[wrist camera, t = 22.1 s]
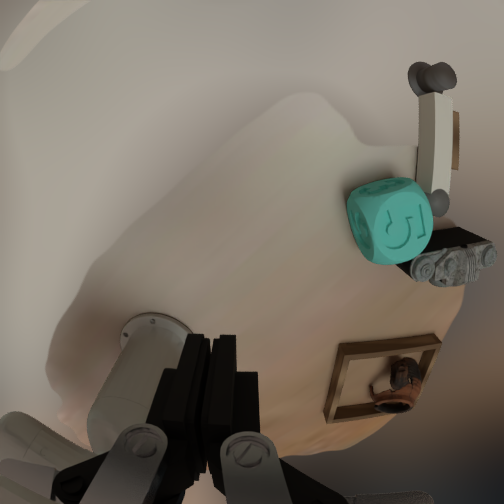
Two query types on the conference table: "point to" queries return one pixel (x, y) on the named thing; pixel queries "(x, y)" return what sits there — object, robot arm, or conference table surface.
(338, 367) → the wooden picture frame
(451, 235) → the camera
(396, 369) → the pottery mug
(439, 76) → the brown and grey piece
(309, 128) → the conference table surface
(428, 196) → the leg
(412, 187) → the decorative dice
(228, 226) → the conference table surface
